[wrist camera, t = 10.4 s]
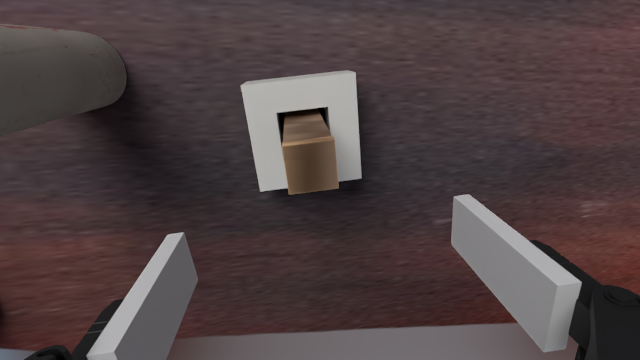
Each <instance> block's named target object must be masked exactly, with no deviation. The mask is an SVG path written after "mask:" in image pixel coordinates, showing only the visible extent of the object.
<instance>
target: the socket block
mask: <svg viewBox="0 0 640 360" xmlns="http://www.w3.org/2000/svg"><path fill="white" fill-rule="evenodd" d="M241 90H242V95H243V101H244V106H245V112H246V117H247V122H248V128H249V133H250V139H251V144H252V149H253V155H254V160H255V166H256V171H257V176H258V182H259V187H260V192H261V191H269V190H277V189H284V188H288V185H287V178H286V171H285V165H284V158H283V151H282V142H283V138H282V131H281V124H280V117H279V113H280V112H288V111H297V110H305V109H314V108H322V107H324V111H325V121H326V126H327V128H328V130H329V132H330V134H331V136H333V138H334V139H335V150H336V161H337V173H338V182H339V181H347V180H355V179H362V176H361V158H360V141H359V124H358V107H357V89H356V72H352V71H348V70H346V71H337V72H328V73H319V74H310V75H301V76H292V77H283V78H274V79H266V80H257V81H248V82H245V83H244V84H242V85H241Z"/></svg>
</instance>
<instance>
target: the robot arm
mask: <svg viewBox="0 0 640 360" xmlns="http://www.w3.org/2000/svg"><path fill="white" fill-rule="evenodd" d="M451 245H452V246H453V247H454V248H455V249H456V250H457V252H458V253H459V254H460V255H461V256H462V257H463V259H464V260H465V261H466V262H467V263H468V265H469V266H470V267H471V268H472V269H473V270H474V272H475V273H476V274H477V275H478V276H479V277H480V279H481V280H482V281H483V282H484V283H485V284H486V286H487V287H488V288H489V289H490V290H491V291H492V293H493V294H494V295H495V296H496V297H497V298H498V300H499V301H500V302H501V303H502V304H503V305H504V307H505V308H506V309H507V310H508V311H509V312H510V314H511V315H512V316H513V317H514V318H515V319H516V321H517V322H518V323H519V324H520V325H521V326H522V327H523V329H524V330H525V331H526V332H527V333H528V335H529V336H530V337H531V338H532V339H533V340H534V342H535V343H536V344H537V345H538V346H539V348H540V349H541V350H542V351H543V352H550V351H556V350H562V349H566V346H567V341H568V337H569V335H570V336H571V337H572V338H573V339H574V340H575V341H576V342H577V343H578V344H579V346H578V349H577V353H576V357H575V360H640V296H639V295H637V294H635V293H633V292H631V291H629V290H627V289H624V288H621V287H618V286H611V285H602V284H600V283H599V282H598V281H596V280H595V279H593V278H592V277H591V276H589V275H588V274H587V273H585V272H584V271H583V270H581V269H580V268H578V267H577V266H576V265H574V264H573V263H570V261H569V260H568V259H566V258H565V257H564V256H561V254H559V253H558V252H557V251H555V250H554V249H553V248H551V247H550V246H548V245H546V244H543V243H541V242H539V241H536V240H532V241H528V240H527V239H526V238H524V237H523V236H522V235H520V234H519V233H518V232H517V231H515V230H514V229H513V228H511V227H510V226H509V225H508V224H506V223H505V222H504V221H502V220H501V219H500V218H499V217H497V216H496V215H495V214H493V213H492V212H491V211H490V210H488V209H487V208H486V207H484V206H483V205H482V204H481V203H479V202H478V201H477V200H475V199H474V198H473V197H472V196H470V195H469V194H468V195H460V196H454V200H453V218H452V236H451ZM197 281H198V278H197V274H196V271H195V267H194V264H193V261H192V257H191V254H190V250H189V247H188V244H187V240H186V237H185V234H184V232H182V233H175V234H168V235H167V236H166V238H165V239H164V241H163V242H162V244H161V245H160V247H159V248H158V250H157V251H156V253H155V254H154V256H153V257H152V259H151V260H150V262H149V263H148V265H147V266H146V268H145V269H144V271H143V272H142V274H141V275H140V276H139V278H138V279H137V281H136V282H135V284H134V285H133V287H132V288H131V290H130V291H129V293H128V294H127V296H126V297H125V299H121V300H115V301H114V302H113V303H111V304H110V305H109V306H108V307H107V308H105V309H104V310H103V311H102V312H101V314H100V315H99V316H98V318H97V319H96V321H95V322H94V325H92V326H91V327H90V329H89V330H88V333H87V334H85V336H84V337H83V339H82V340H81V341H80V343H79V344H78V345H77V347H76V348H75V350H74V351H73V352H72V354H71V355H70V353H69V351H68V349H67V348H66V347H65V346H61V345H55V346H50V347H47V348H44V349H42V350H40V351H37V352H35V353H34V354H32V355H31V356H29V357H28V358H26V359H24V360H166V358H167V356H168V353H169V351H170V348H171V346H172V343H173V341H174V338H175V336H176V333H177V331H178V328H179V326H180V323H181V321H182V318H183V316H184V313H185V311H186V308H187V306H188V303H189V301H190V298H191V296H192V293H193V291H194V288H195V286H196V283H197Z"/></svg>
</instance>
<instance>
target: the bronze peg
mask: <svg viewBox="0 0 640 360" xmlns="http://www.w3.org/2000/svg"><path fill="white" fill-rule="evenodd" d="M282 151H283V158H284V165H285V171H286V178H287V185H288V191H289V195H291V194H298V193H306V192H314V191H322V190H329V189H337V188H339V184H338V173H337V161H336V150H335V139H334V138H333V136H331V134H330V132H329V130H328V128H327V126H326V124H325V122H324V120H323V118H322V116H321V114H320V112H319V110H318V109H317V108H316V109H307V110H299V111H290V112H285V119H284V132H283V142H282Z"/></svg>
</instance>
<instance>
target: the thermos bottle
mask: <svg viewBox="0 0 640 360" xmlns="http://www.w3.org/2000/svg"><path fill="white" fill-rule="evenodd" d="M126 79H127V75H126V69H125V66H124V63H123V61H122V59H121V57H120V56H119V54H118V53H117V52H116V50H115V49H114V48H113V47H112V46H111V45H110V44H109V43H108V42H106V41H105V40H103V39H102V38H100V37H98V36H96V35H93V34H90V33H86V32H79V31H70V30H60V29H51V28H42V27H32V26H21V25H7V24H0V136H2V135H6V134H9V133H13V132H17V131H20V130H24V129H27V128H31V127H34V126H38V125H41V124H44V123H47V122H49V121H52V120H55V119H58V118H62V117H67V116H72V115H76V114H80V113H84V112H87V111H91V110H94V109H98V108H101V107H105V106H108V105H110V104H112V103H114V102H115V101H117V100H118V99H119V98H120V97H121V95H122V94H123V92H124V90H125V86H126Z"/></svg>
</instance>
